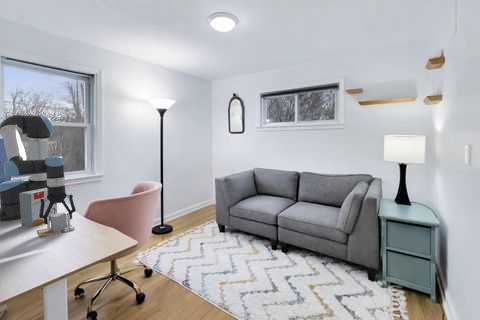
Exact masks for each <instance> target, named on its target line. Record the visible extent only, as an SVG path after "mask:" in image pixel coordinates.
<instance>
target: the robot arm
mask: <svg viewBox="0 0 480 320" xmlns="http://www.w3.org/2000/svg"><path fill="white" fill-rule="evenodd" d="M22 135H25V136H26V138H27V139H28V140H29V149H30V154H29V155H30V159H29V160H28V157H27V153H26V149H25V145H24V141H23V139H22V138H23V137H22ZM53 135H54V127H53V122H52V120H51V119H50V117H48V116H45V115H44V116H43V115H27V114H26V115H25V114H24V115H23V114H14V115H10V116H8V117H6V118H5V119H4V120H2V121H1V123H0V136H1V137H2V138H3V143H4V148H5V153H6V158H7V160H6V161H4V162H3V171H4V175H5V176H6V177H18V176H27V175H28V180H25V179H24V178H19V179H16V178H15V179H12V180H7V181H3V182H0V220H2V221H5V222H6V221H14V220H19V219H21V211H20V197H19V193H22V192H27V191H33V190H38V189H43V188H47V192H48V195H47V197H46V198H41V199H40V201H41V207H40V213H39V217H40V218H44V223H43V224H44V225H46V229H48V231H49V230H50V228H51V221H49V217H48V215H49V213H50V210H51V208H52V206H53V204H56V203H57V204H61V203H62V205H63V206H64V208H65V209H66V211H67V213H66V215H67V224H68V226H70V225H71V220H72V219H73V213H75V212H76V211H77V209H76V206H75V203H74V199H73V197H74V196H73V194H72V193H69V194H67V193H66V185H65V184H66V182H65V181H66V180H65V179H66V178H65V167H64V165H65V162H64V157H63V156H61V155H60V156H59V155H55V156H54V155H53V156H48V155H49V154H48V140H49V139H51V136H53ZM29 175H30V176H29ZM66 198H67V199H69V200H68V201H69V204H70V207H69V205H68V204H67V203H66V200H65V199H66ZM47 199H48V200H49V201H50V203H49V206H48V208H47V210H46V212H45V214H44V215H43V212H44V205H45V202H46V200H47Z"/></svg>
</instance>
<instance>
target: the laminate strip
mask: <svg viewBox="0 0 480 320" xmlns="http://www.w3.org/2000/svg"><path fill="white" fill-rule="evenodd" d="M72 226H73V225H72V224H70V226H68V223H67V227H68V228H69V231H67V232H71V231H73V230H71V231H70V227H72ZM59 232H60V234H62V233H63V234H64V233H67V232H65V231H64V230H62V231H59Z"/></svg>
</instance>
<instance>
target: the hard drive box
mask: <svg viewBox="0 0 480 320" xmlns="http://www.w3.org/2000/svg"><path fill="white" fill-rule="evenodd" d="M47 195H48V192H47V188H43V189H38V190H33V191H27V192H22V193H19V197H20V211H21V218H20V223H21V227H27V228H34V227H36V226H38V225H42V224H45V223H44V218H40V217H39V213H40V207H41V201H40V199H41V198H46V197H47ZM49 203H50V201H49V200H48V199H47V200H46V202H45V205H44V212H43V215H44V214H45V212H46V210H47V208H48V206H49ZM57 213H58V203H56V204H53V206H52V208H51V210H50V213H49V215H48V217H49V222H51V216H50V215H51V214H57Z"/></svg>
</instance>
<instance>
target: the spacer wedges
mask: <svg viewBox="0 0 480 320" xmlns="http://www.w3.org/2000/svg"><path fill="white" fill-rule="evenodd" d="M71 226H72V227H70V231H69V228H68V227H67V228H64V231H65V232H64V233H67V231H68V232H71V230H72V231H76V228H75V226H74V225H71Z"/></svg>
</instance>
